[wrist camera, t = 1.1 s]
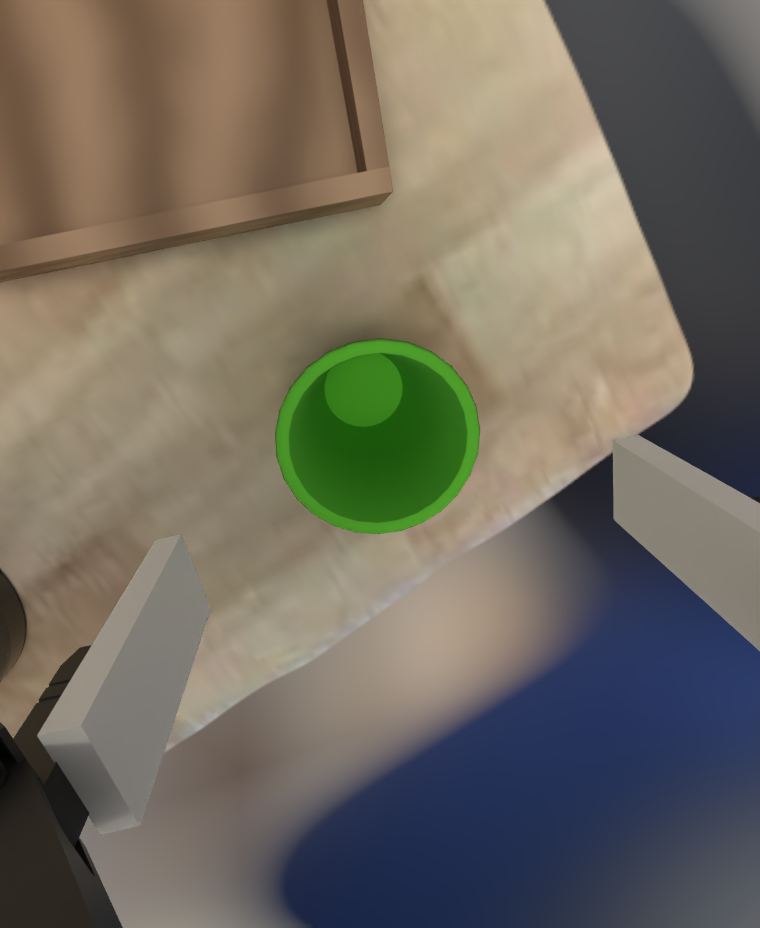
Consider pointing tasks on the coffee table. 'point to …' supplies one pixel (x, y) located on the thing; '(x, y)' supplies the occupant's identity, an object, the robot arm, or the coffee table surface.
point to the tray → (179, 123)
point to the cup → (377, 436)
